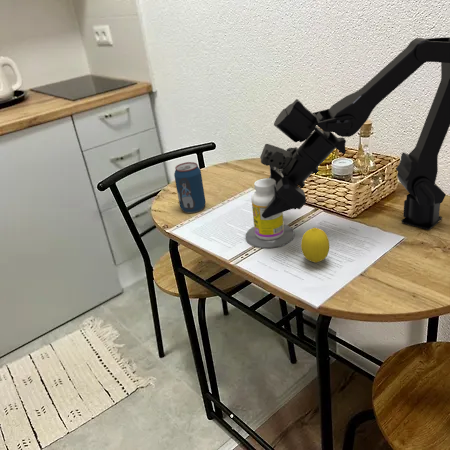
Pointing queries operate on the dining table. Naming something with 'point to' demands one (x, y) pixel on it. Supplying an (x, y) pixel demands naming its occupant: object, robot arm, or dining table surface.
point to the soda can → (189, 187)
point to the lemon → (315, 245)
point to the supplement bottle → (260, 200)
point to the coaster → (275, 243)
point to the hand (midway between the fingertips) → (261, 207)
